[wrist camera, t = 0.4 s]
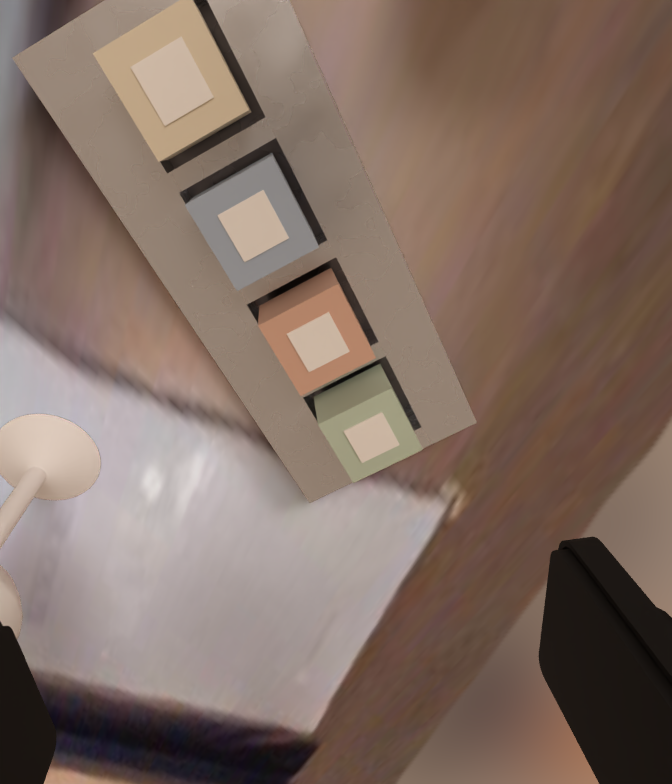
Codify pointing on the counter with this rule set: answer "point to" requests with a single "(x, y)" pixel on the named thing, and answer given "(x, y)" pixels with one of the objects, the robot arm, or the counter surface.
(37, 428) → the champagne flute
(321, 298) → the key
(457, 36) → the counter surface
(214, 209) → the key
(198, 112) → the key
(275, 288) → the keyguard pad
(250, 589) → the counter surface
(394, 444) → the key
